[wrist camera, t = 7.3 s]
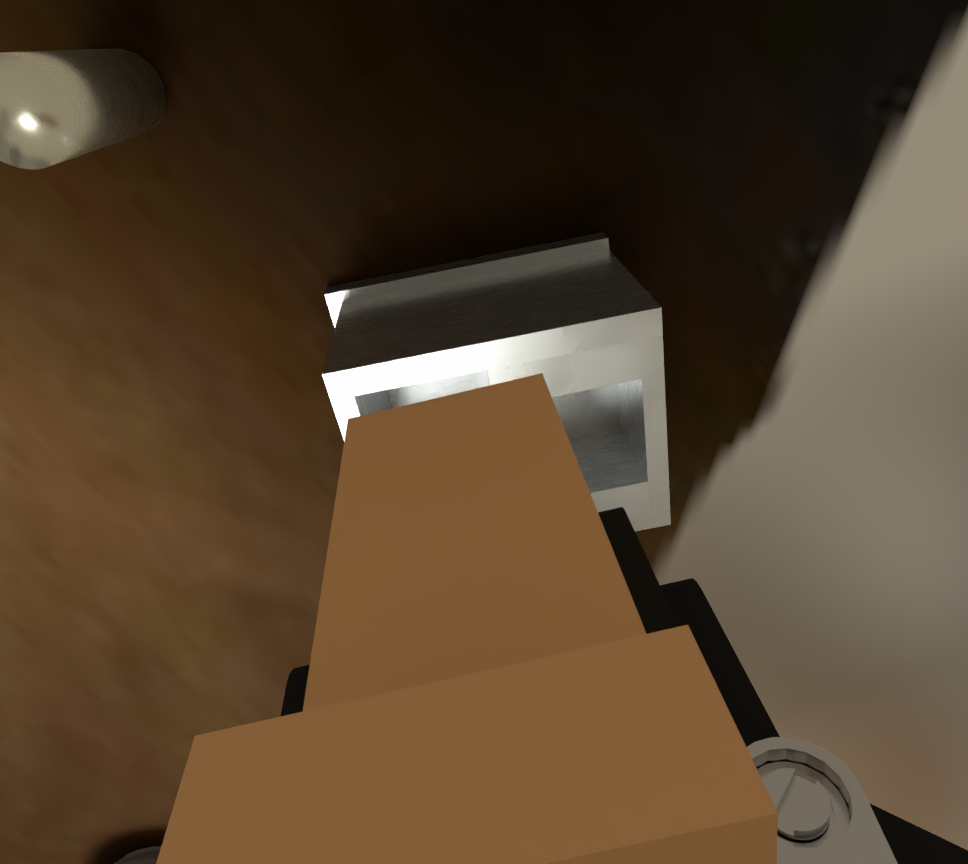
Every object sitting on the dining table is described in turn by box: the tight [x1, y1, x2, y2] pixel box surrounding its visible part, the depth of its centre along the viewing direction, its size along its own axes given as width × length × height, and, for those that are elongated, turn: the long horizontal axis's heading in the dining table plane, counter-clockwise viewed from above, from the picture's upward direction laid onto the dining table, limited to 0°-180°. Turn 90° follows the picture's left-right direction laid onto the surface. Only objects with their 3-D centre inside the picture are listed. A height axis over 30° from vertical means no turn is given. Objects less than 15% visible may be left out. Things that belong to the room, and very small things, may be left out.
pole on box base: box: [322, 232, 671, 531], centre depth 24 cm, size 15×12×20 cm
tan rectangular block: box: [156, 373, 778, 864], centre depth 9 cm, size 9×3×8 cm, turn 12°
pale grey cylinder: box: [0, 49, 167, 169], centre depth 21 cm, size 3×3×8 cm
